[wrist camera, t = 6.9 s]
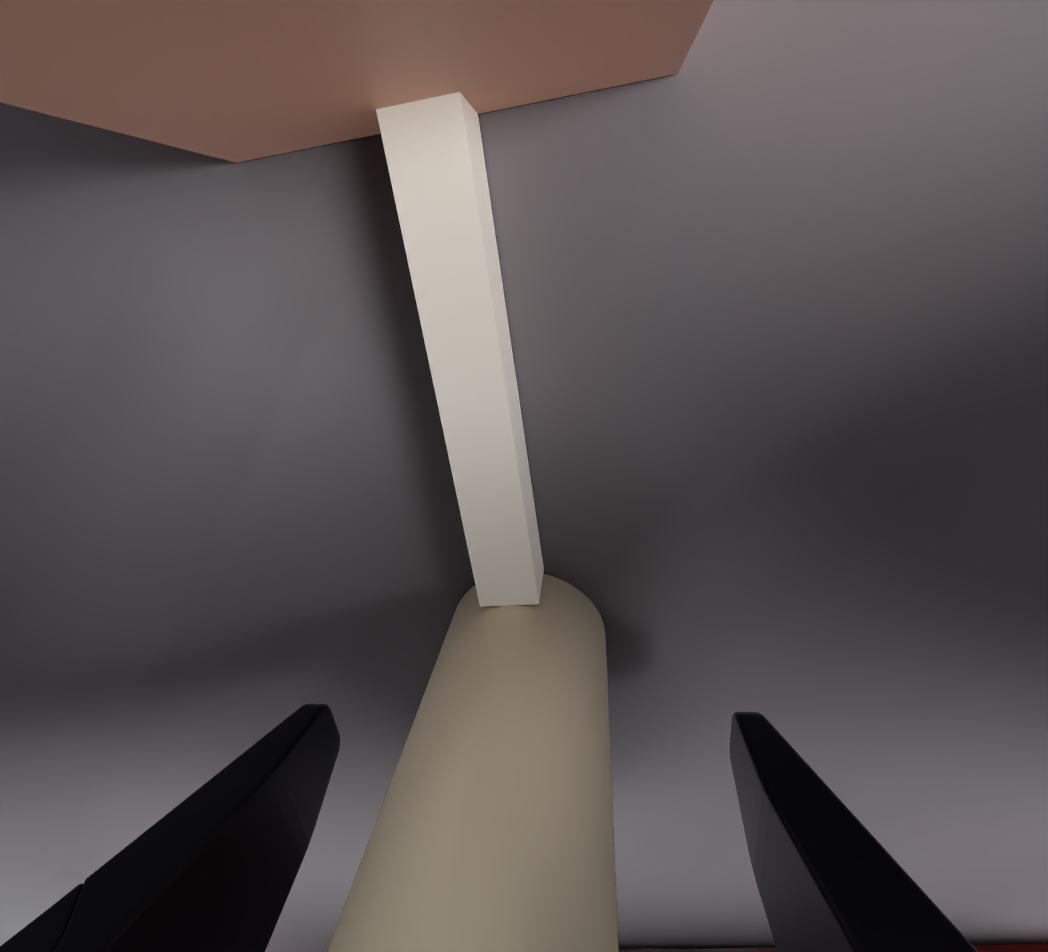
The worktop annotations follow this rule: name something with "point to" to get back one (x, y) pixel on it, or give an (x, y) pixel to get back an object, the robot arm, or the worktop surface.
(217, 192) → the worktop surface
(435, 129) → the toy mallet
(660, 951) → the soda box
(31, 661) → the worktop surface
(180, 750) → the worktop surface
